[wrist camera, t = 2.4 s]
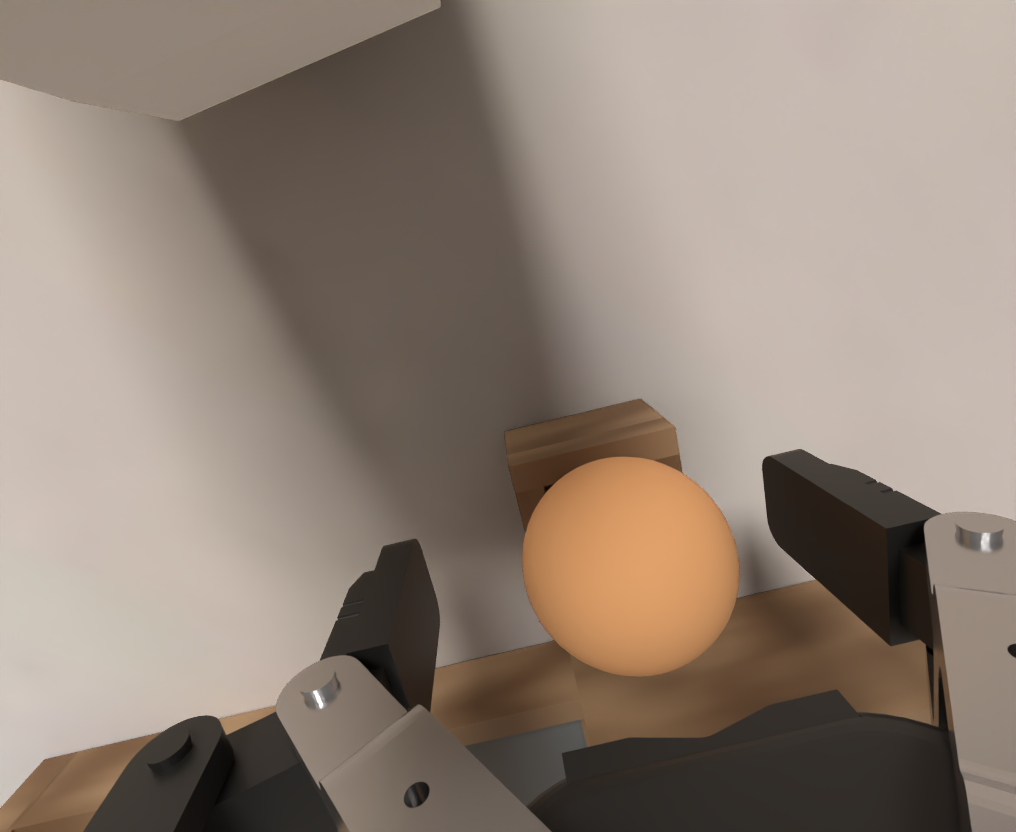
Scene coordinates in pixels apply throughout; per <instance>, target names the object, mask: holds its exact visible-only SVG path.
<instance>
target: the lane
mask: <svg viewBox="0 0 1016 832" xmlns="http://www.w3.org/2000/svg"><path fill="white" fill-rule="evenodd" d="M836 689H837V690H838V691H839V692H840V693H841V694H842V695H843V697H844V698H845V699H846V700H847V701H848V702H849V704H850V705H851V706H852V707H853V708H854V709H855V711H856V712H869V713H880V714H888V715H893V716H899V717H905V718H909V719H912V720H916V721H920V722H924V723H928V724H931V717H930V706H929V695H928V684H927V673H926V662H925V644H924V643H923V642H922V641H921V640H916V641H912V642H908V643H904V644H899V645H895V646H891V647H890V646H889V645H888V644H887V643H886V642H885V641H884V640H883V639H882V638H880V637H879V636H878V635H877V634H876V633H875V632H874V631H873V630H872V629H870V628H869V627H868V626H867V625H866V624H865V623H864V622H863V621H862V620H860V619H859V618H858V617H857V616H856V615H855V614H854V613H853V612H852V611H851V610H849V609H848V608H847V607H846V606H845V605H844V604H843V603H842V602H841V601H839V600H838V599H837V598H836V597H835V596H834V595H833V594H832V593H831V592H829V591H828V590H827V589H826V588H825V587H824V586H823V585H822V584H821V583H819V582H818V581H817V580H814V581H809V582H805V583H801V584H797V585H792V586H788V587H784V588H779V589H775V590H771V591H767V592H762V593H758V594H754V595H749V596H745V597H741V598H736V602H735V605H734V609H733V611H732V614H731V616H730V619H729V621H728V623H727V625H726V626H725V628H724V630H723V631H722V633H721V634H720V635H719V637H718V638H717V639H716V640H715V642H714V643H713V644H712V645H711V646H710V647H709V648H708V649H707V650H706V651H705V652H704V653H703V654H701V655H700V656H699V657H698V658H696V659H695V660H693V661H692V662H690V663H688V664H686V665H684V666H683V667H681V668H678V669H676V670H673V671H670V672H667V673H663V674H659V675H653V676H642V677H637V676H622V675H616V674H611V673H608V672H604V671H601V670H599V669H597V668H594V667H592V666H589V665H587V664H585V663H583V662H582V661H580V660H578V659H576V658H575V657H574V656H572V655H571V654H570V653H569V652H567V651H566V650H565V649H563V648H562V647H561V646H560V645H559V644H558V643H557V642H556V641H552V642H548V643H543V644H539V645H535V646H530V647H526V648H522V649H517V650H513V651H509V652H505V653H500V654H496V655H492V656H487V657H483V658H479V659H475V660H470V661H466V662H462V663H457V664H453V665H449V666H444V667H440V668H436V669H435V674H434V683H433V692H432V701H431V711H430V713H431V714H432V715H433V716H434V717H435V718H436V719H437V720H438V721H439V722H440V723H441V724H442V725H443V726H444V727H445V728H446V729H447V730H448V731H449V732H450V733H451V734H452V735H453V736H454V737H455V738H456V739H457V740H458V741H459V742H460V743H461V744H462V745H463V746H465V747H466V748H467V749H468V750H469V751H470V752H471V753H472V754H473V755H474V756H475V757H476V758H477V759H478V760H479V761H480V762H481V763H482V764H483V765H484V766H485V767H486V768H487V769H488V770H489V771H490V772H491V773H492V774H493V775H494V776H495V777H496V778H497V779H498V780H499V781H500V782H501V783H502V784H503V785H504V786H505V787H506V788H507V789H508V790H509V791H510V792H511V793H512V794H513V795H514V796H516V797H517V798H518V799H519V800H520V801H521V802H522V803H523V804H524V805H525V806H527V805H528V804H529V803H530V802H532V801H533V800H534V799H535V798H536V797H537V796H538V795H540V794H541V793H542V792H544V791H545V790H547V789H548V788H550V787H551V786H552V785H554V784H556V783H558V782H559V781H561V780H563V779H565V778H566V776H565V770H564V764H563V758H562V753H564V752H568V751H573V750H577V749H581V748H586V747H590V746H594V745H599V744H603V743H607V742H612V741H616V740H620V739H625V738H629V737H645V738H701V737H708V736H711V735H713V734H715V733H717V732H719V731H721V730H723V729H725V728H727V727H728V726H730V725H732V724H734V723H736V722H738V721H740V720H742V719H744V718H745V717H747V716H749V715H751V714H753V713H755V712H757V711H759V710H761V709H763V708H764V707H766V706H768V705H771V704H776V703H780V702H784V701H788V700H793V699H797V698H801V697H806V696H810V695H814V694H819V693H823V692H827V691H832V690H836ZM275 711H276V706H273V707H268V708H264V709H260V710H256V711H251V712H247V713H243V714H238V715H234V716H230V717H225V718H221V719H218V720H219V721H220V722H221V725H222V727H223V729H224V731H225V733H226V735H228V734H230V733H232V732H234V731H236V730H238V729H240V728H243V727H245V726H247V725H249V724H251V723H253V722H255V721H257V720H260V719H262V718H264V717H266V716H268V715H270V714H272V713H274V712H275ZM161 733H162V732H161ZM159 734H160V733H157V734H152V735H148V736H144V737H140V738H135V739H131V740H127V741H122V742H118V743H114V744H110V745H105V746H101V747H97V748H92V749H88V750H84V751H79V752H75V753H71V754H67V755H62V756H58V757H54V758H49V759H45V760H43V762H42V763H41V764H40V765H39V766H38V767H37V768H36V769H35V770H34V772H33V773H32V774H31V775H30V776H29V777H28V778H27V779H26V780H25V782H24V783H23V784H22V785H21V786H20V787H19V788H18V789H17V790H16V791H15V793H14V794H13V795H12V796H11V797H10V798H9V799H8V800H7V801H6V803H5V804H4V805H3V806H2V807H1V808H0V832H83V831H84V829H85V828H86V826H87V825H88V823H89V822H90V820H91V819H92V817H93V816H94V814H95V813H96V811H97V810H98V808H99V807H100V805H101V804H102V802H103V801H104V799H105V797H106V796H107V794H108V793H109V791H110V790H111V788H112V787H113V785H114V784H115V782H116V781H117V779H118V778H119V776H120V775H121V773H122V772H123V770H124V769H125V767H126V766H127V765H128V763H129V762H130V760H131V759H132V758H133V757H134V756H135V755H136V754H137V753H138V752H139V751H140V750H141V749H142V748H143V747H144V746H145V745H146V744H147V743H149V742H150V741H151V740H152V739H154V738H155V737H156V736H158V735H159Z"/></svg>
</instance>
